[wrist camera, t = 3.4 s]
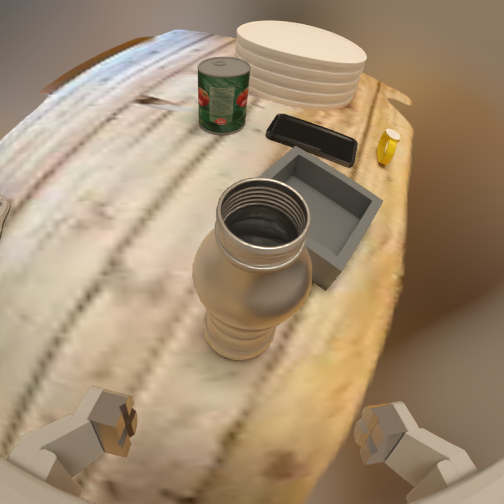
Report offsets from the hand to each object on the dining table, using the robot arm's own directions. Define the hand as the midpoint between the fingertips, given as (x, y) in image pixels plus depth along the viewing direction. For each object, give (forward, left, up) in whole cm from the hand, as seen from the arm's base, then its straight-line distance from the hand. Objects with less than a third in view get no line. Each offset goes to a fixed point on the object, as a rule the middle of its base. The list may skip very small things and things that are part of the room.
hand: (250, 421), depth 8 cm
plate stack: (-29, +57, -19) cm, 67 cm away
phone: (-14, +38, -19) cm, 45 cm away
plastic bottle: (-4, +6, -19) cm, 20 cm away
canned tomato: (-28, +31, -19) cm, 46 cm away
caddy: (-6, +22, -19) cm, 30 cm away
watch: (-3, +44, -19) cm, 48 cm away
